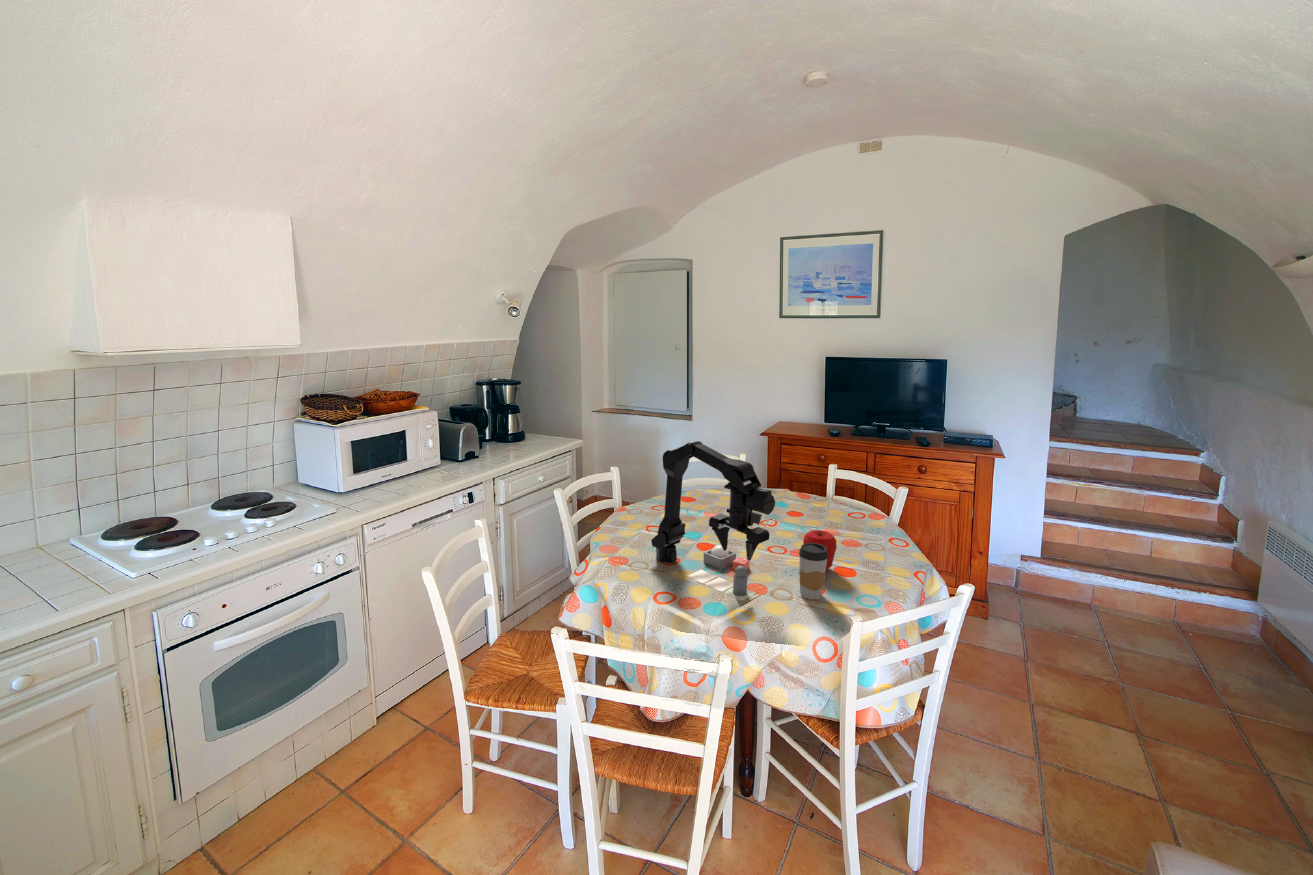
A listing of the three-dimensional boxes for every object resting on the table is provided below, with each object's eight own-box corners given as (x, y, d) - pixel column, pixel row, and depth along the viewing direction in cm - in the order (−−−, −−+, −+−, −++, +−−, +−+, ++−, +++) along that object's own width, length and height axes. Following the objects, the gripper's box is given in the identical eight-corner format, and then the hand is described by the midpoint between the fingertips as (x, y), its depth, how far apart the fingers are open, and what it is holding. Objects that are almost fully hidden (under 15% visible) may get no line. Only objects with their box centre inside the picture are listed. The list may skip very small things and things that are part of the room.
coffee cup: (820, 588, 183) (823, 541, 180) (829, 601, 175) (832, 553, 172) (793, 588, 183) (796, 542, 179) (800, 601, 175) (803, 553, 171)
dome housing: (702, 565, 199) (703, 552, 198) (718, 558, 204) (718, 545, 203) (721, 572, 193) (721, 559, 192) (736, 565, 199) (736, 552, 198)
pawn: (730, 592, 178) (731, 566, 176) (738, 588, 180) (740, 562, 179) (740, 597, 175) (742, 570, 173) (749, 592, 178) (750, 566, 176)
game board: (681, 580, 188) (681, 576, 188) (703, 570, 195) (703, 567, 194) (739, 607, 172) (739, 603, 172) (761, 595, 179) (761, 591, 178)
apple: (835, 577, 190) (838, 537, 187) (802, 574, 192) (804, 534, 189) (833, 563, 200) (835, 525, 197) (801, 561, 202) (803, 522, 199)
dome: (706, 562, 199) (707, 545, 197) (718, 557, 203) (719, 540, 201) (720, 568, 194) (721, 551, 193) (732, 563, 198) (733, 545, 197)
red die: (732, 573, 193) (732, 560, 192) (737, 568, 196) (737, 555, 195) (744, 575, 191) (744, 563, 190) (748, 571, 194) (749, 558, 193)
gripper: (782, 507, 174) (779, 557, 178) (732, 491, 187) (730, 538, 191) (758, 516, 167) (755, 568, 170) (708, 499, 180) (706, 548, 183)
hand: (736, 555), depth 179 cm, fingers open, 9 cm apart
